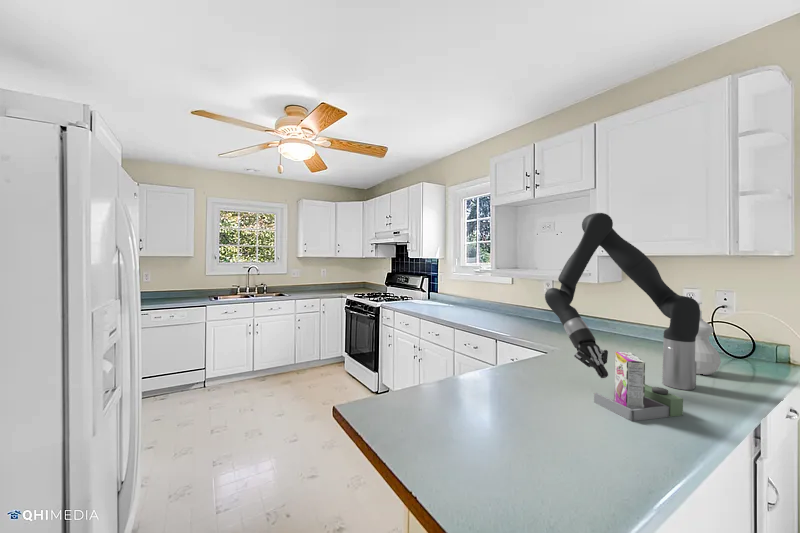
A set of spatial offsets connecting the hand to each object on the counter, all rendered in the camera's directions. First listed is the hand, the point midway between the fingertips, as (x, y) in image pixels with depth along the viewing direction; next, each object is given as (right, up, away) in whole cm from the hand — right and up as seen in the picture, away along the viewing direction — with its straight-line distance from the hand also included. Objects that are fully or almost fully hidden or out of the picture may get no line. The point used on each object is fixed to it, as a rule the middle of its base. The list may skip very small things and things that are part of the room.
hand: (605, 377), depth 118 cm
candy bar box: (+2, -7, -9) cm, 12 cm away
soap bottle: (+54, -7, +30) cm, 62 cm away
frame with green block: (+5, -7, -9) cm, 12 cm away
